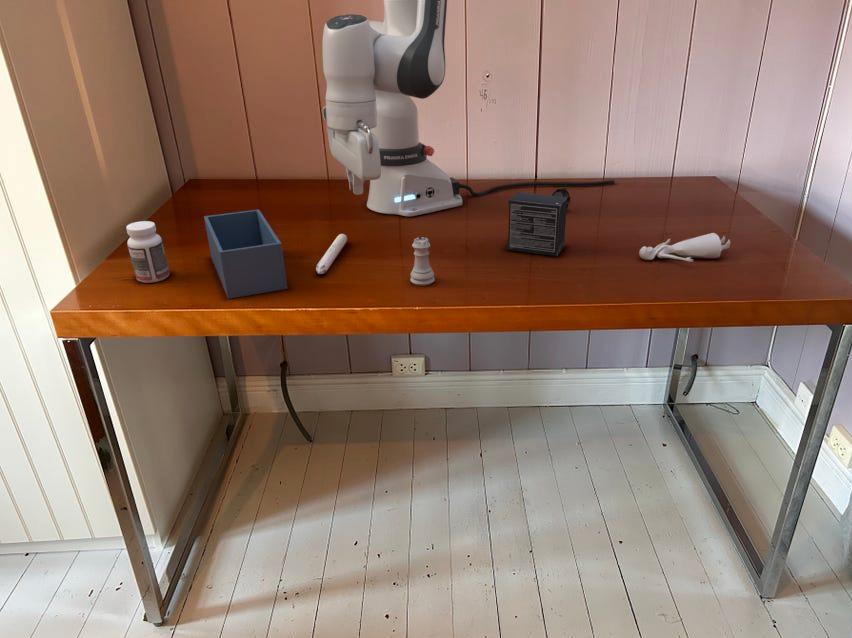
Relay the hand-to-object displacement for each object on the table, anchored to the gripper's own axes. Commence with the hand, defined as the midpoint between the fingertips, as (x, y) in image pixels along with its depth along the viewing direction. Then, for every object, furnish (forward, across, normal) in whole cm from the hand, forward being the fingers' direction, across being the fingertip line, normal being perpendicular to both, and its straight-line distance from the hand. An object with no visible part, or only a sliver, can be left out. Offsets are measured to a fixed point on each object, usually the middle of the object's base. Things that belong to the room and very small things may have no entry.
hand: (356, 192), depth 135 cm
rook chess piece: (+13, -17, -6) cm, 22 cm away
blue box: (+13, 0, +21) cm, 25 cm away
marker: (+13, 0, +6) cm, 14 cm away
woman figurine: (+12, -27, -57) cm, 64 cm away
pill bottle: (+14, +6, +37) cm, 40 cm away
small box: (+12, -11, -34) cm, 37 cm away
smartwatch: (+12, +8, -51) cm, 53 cm away
